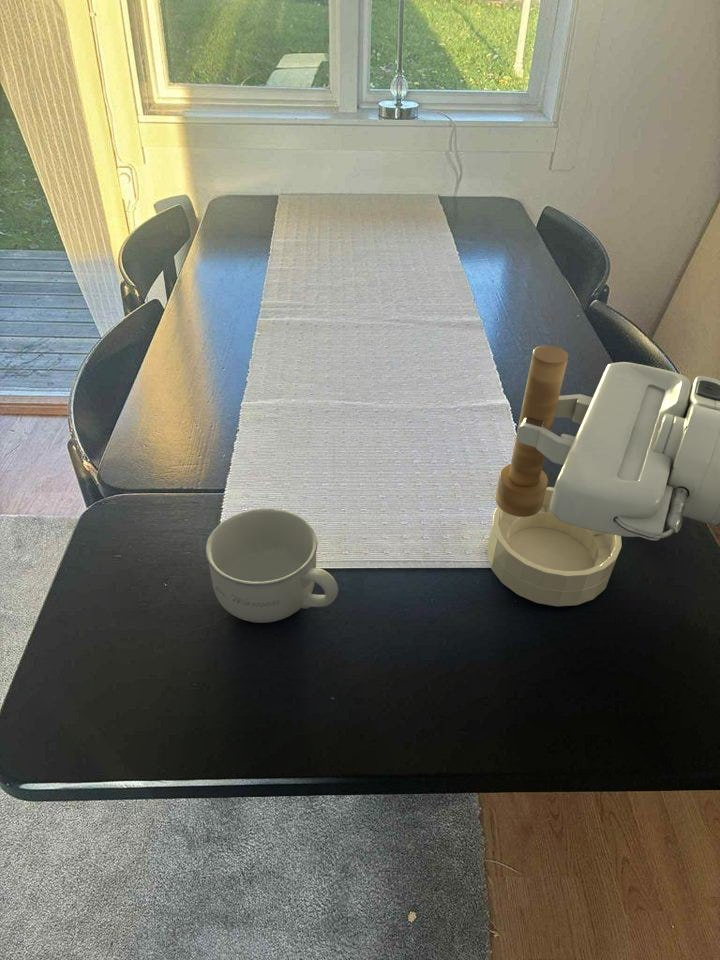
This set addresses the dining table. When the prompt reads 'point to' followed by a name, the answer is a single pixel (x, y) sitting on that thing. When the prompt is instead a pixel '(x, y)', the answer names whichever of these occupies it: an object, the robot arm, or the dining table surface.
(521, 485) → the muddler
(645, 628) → the dining table surface
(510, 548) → the bowl
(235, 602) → the teacup
